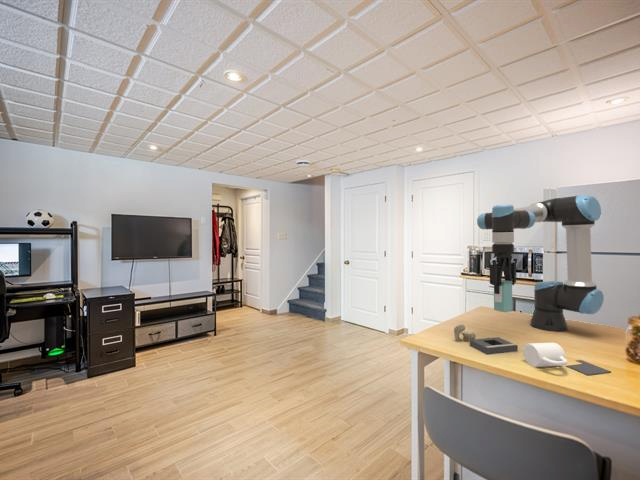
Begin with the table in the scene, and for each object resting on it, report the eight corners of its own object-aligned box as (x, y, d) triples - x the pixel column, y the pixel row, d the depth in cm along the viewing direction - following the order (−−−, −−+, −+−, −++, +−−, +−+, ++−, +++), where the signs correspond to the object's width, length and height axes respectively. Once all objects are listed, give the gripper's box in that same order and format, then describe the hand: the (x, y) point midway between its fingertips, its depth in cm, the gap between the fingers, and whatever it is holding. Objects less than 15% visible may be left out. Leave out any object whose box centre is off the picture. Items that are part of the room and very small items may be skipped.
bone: (475, 336, 138) (474, 320, 134) (476, 347, 133) (475, 331, 129) (454, 335, 142) (453, 319, 137) (455, 346, 137) (453, 330, 132)
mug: (522, 361, 114) (522, 340, 114) (547, 360, 115) (547, 339, 115) (549, 376, 102) (549, 352, 102) (576, 375, 103) (576, 351, 103)
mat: (580, 360, 114) (580, 359, 114) (611, 372, 104) (611, 371, 104) (558, 363, 112) (558, 362, 112) (587, 375, 102) (587, 374, 102)
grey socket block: (498, 344, 133) (498, 336, 133) (517, 352, 123) (517, 344, 123) (469, 346, 130) (469, 339, 130) (487, 355, 120) (487, 347, 120)
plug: (501, 308, 127) (501, 279, 127) (512, 311, 123) (512, 281, 122) (493, 309, 125) (493, 280, 125) (504, 312, 121) (504, 281, 121)
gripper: (509, 242, 130) (509, 297, 131) (478, 243, 124) (479, 301, 124) (527, 243, 123) (527, 301, 124) (495, 244, 117) (495, 305, 117)
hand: (503, 301), depth 124 cm, fingers closed on plug, 4 cm apart
